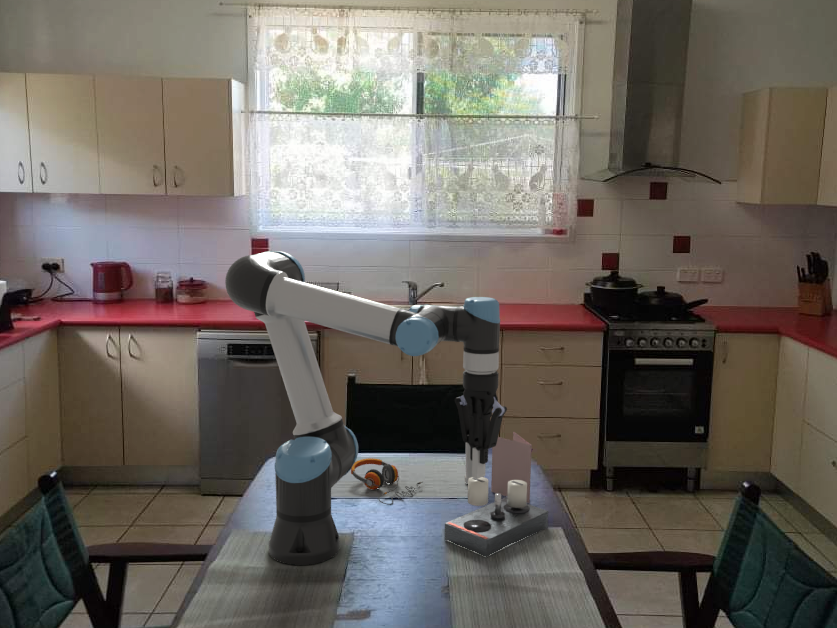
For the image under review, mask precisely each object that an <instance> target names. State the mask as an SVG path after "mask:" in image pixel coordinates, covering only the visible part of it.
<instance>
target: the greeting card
mask: <svg viewBox="0 0 837 628" xmlns="http://www.w3.org/2000/svg"><path fill="white" fill-rule="evenodd" d="M512 433H513V434H512V439H508V438H504V437H500V436H498V440H497V444H496V446H495V447H492V449H491V488H490V489H491V491H490V492H491V493H494V494H496V493H500V494H501V496H504V497H507V494H508V482H509V481H511V480H522V481H525V482H526V483H527V501H526V503H527V504H530V502H531V472H532V452H533V448H532V444H531V443H529V442H528V441H527V440H526V439H524V438H523V437H522V436H520V435H519V434H518V433H516V432H515V431H513V432H512Z"/></svg>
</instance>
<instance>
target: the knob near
mask: <svg viewBox="0 0 837 628" xmlns="http://www.w3.org/2000/svg"><path fill="white" fill-rule="evenodd" d="M467 504H469V505H470V506H474V507H475V506H476V507H484V506H486V505H489V479H488V478H487V477H485V476H484V477H480V478H478V479H476V478H474V477H471V478H469V479H468V485H467Z"/></svg>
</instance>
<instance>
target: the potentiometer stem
mask: <svg viewBox="0 0 837 628" xmlns="http://www.w3.org/2000/svg"><path fill="white" fill-rule="evenodd" d="M501 499H502V495H501V494H500V493H494V502H495V511H493V512H491V513H490V517H491V518H492V519H494V520H502V519H504V518H505V513H504V512H501Z"/></svg>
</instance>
